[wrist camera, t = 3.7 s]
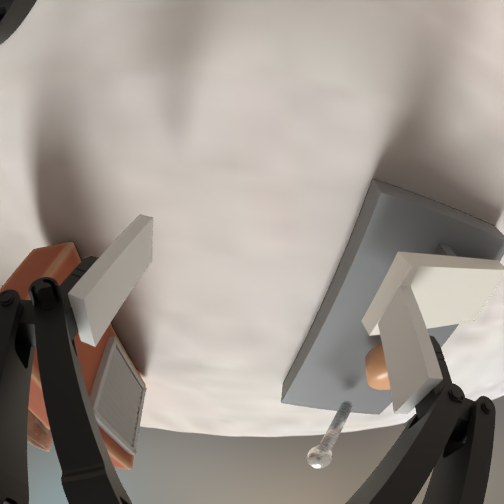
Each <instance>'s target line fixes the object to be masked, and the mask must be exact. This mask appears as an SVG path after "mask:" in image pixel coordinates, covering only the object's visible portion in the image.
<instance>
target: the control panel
mask: <svg viewBox="0 0 504 504" xmlns="http://www.w3.org/2000/svg"><path fill="white" fill-rule="evenodd" d="M80 263H81V260H80V257H79V255H78V252H77V250H76V247H75V245H74V243H73V242H67V243H62V244H57V245H52V246H47V247H42V248H37V249H33V250H32V252H31V253H30V254H29V255H28V256H27V257H26V258H25V260H24V261H23V262H22V263H21V264H20V266H19V267H18V268H17V269H16V270H15V272H14V273H13V274H12V275H11V276H10V278H9V279H8V280H7V281H6V283H5V284H4V285H3V287H2V288H1V289H0V293H1V292H2V291H5V290H9V289H12V290H16V291H17V292H18V293H19V295H20V297H21V299H23V300H31V298H30V295H29V292H28V290H29V286H30V285H31V284H32V282H34V281H35V280H37V279H39V278H42V277H50V278H54V279H55V280H56V281H57V283H58V285H59V286H60V285H61V283H62V282H63V281H64V280H65V279H66V278H67V277H68V276H69V274H71V272H72V271H73V270H74V269H76V267H77V266H78V265H79V264H80ZM74 341H75V344H76V349H77V353H78V358H79V362H80V366H81V370H82V374H83V378H84V381H85V385H86V389H87V392H88V396H89V399H90V402H91V406H92V409H93V412H94V415H95V418H96V421H97V424H98V427H99V430H100V433H101V435H102V438H103V441H104V444H105V446H106V449H107V451H108V454H109V456H110V459H111V461H112V464H113V466H114V468H122V469H132V466H133V458H134V455H135V454H136V447H137V440H138V433H139V427H140V421H141V415H142V409H143V403H144V397H145V392H146V387H145V383H144V381H143V380H142V378H141V376H140V375H139V373H138V371H137V370H136V368H135V366H134V365H133V363H132V361H131V360H130V358H129V356H128V355H127V353H126V351H125V349H124V347H123V346H122V344H121V342H120V340H119V338H118V337H117V335H116V333H115V331H114V329H113V327H112V325H111V323H110V324H109V326H108V328H107V329H106V331H105V332H104V334H103V336H102V337H101V339H100V340H99V342H98V344H97V345H96V347H94V346H92V345H90V344H87V343H85V342H82V341H81V340H80V336H79V333H77V335H76V336H75V338H74ZM28 409H29V410H30V411H31V412H32V413H33V414H34V415H35V416H36V417H37V418H38V419H39V420H40V421H41V422H42V423H43V424H45V425H46V426H47V427H48V428H49V429H50V426H49V421H48V417H47V412H46V408H45V403H44V397H43V392H42V386H41V380H40V373H39V366H38V358H37V349H36V347H35V352H34V359H33V366H32V374H31V383H30V393H29V405H28Z"/></svg>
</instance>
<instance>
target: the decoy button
mask: <svg viewBox="0 0 504 504" xmlns="http://www.w3.org/2000/svg"><path fill="white" fill-rule="evenodd" d="M365 368H366V376H367V383H368V385H369V386H370V387H372V388H374V389H378V390H389V389H390V383H389V377H388V372H387V366H386V361H385V356H384V351H383V346H382V343H381V344H379V345H377V346H375V347H373V348H372V349H371V350H370V351H369V352H368V353H367V355H366V357H365Z"/></svg>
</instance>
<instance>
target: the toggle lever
mask: <svg viewBox="0 0 504 504" xmlns="http://www.w3.org/2000/svg"><path fill="white" fill-rule="evenodd" d="M351 409H352V403H351V402H350V401H344V402H343V403H342V404H341V405H340V407H339V409H338V411H337V413H336V415H335V417H334V419H333V421H332V423H331V425H330V426H329V428H328V430H327V432H326V434H325V436H324V437H323V439H322V441H321V443H320V444H319V446H316V447H313V448H312V449H311V450H310V451H309V453H308V455H307V461H308V463H309V464H310V466H312V467H314V468H318V469H319V468H324V467H326V466H327V465H329V464H330V462H331V461H332V452H331V449H332V447H333V446H334V444H335V442H336V440H337V438H338V436H339V434H340V432H341V430H342V428H343V426H344V424H345V422H346V420H347V418H348V416H349V414H350V412H351Z"/></svg>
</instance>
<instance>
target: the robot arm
mask: <svg viewBox="0 0 504 504" xmlns="http://www.w3.org/2000/svg"><path fill="white" fill-rule="evenodd" d="M35 1H36V0H0V44H2V43H3V42H4V41H5V40H6V39H8V38H9V37H10V36H11V35H12V33H13V32H14V31H15V30H16V29H17V28H18V26H19V25H20V24H21V23H22V21H23V20H24V18H25V17H26V16H27V14H28V13H29V11H30V9H31V8H32V6H33V5H34V3H35ZM152 236H153V217H149V216H144V215H139V216H138V217H137V218H136V219H135V220H134V221H133V222H132V223H131V224H130V225H129V226H128V227H127V228H126V229H125V230H124V231H123V232H122V234H121V235H120V236H119V237H118V238H117V239H116V240H115V241H114V242H113V243H112V244H111V245H110V246H109V247H108V248H107V249H106V251H105V252H104V253H103V254H102V255H101V256H100V257H99V258H96V257H93V256H90V257H88V258H86V259H85V260H83V261H81V263H80V264H79V265H78V266H77V267H76V269H74V270H73V271H72V272H71V274H69V276H68V277H67V278H66V279H65V280H64V281H63V282H62V283H61V285H60V286H59V285H58V283H57V281H56V280H55V279H54V278H50V277H42V278H39V279H37V280H35V281H34V282H32V284H31V285H30V286H29V290H28V292H29V295H30V298H31V300H23V299H21V297H20V295H19V293H18V292H17V291H16V290H12V289H9V290H5V291H2V292H1V293H0V504H29V487H28V470H27V423H28V405H29V393H30V383H31V374H32V366H33V359H34V352H35V347H36V349H37V358H38V366H39V373H40V380H41V386H42V392H43V397H44V403H45V408H46V412H47V417H48V421H49V426H50V430H51V434H52V438H53V441H54V445H55V449H56V452H57V456H58V459H59V462H60V465H61V469H62V477H61V481H62V485H63V489H64V492H65V495H66V497H67V500H68V502H69V504H132V502H131V500H130V499H129V497H128V495H127V493H126V491H125V489H124V488H123V486H122V484H121V482H120V480H119V478H118V475H117V473H116V471H115V468H114V466H113V464H112V461H111V459H110V456H109V454H108V451H107V449H106V446H105V444H104V441H103V438H102V435H101V433H100V430H99V427H98V424H97V421H96V418H95V415H94V412H93V409H92V406H91V402H90V399H89V396H88V392H87V389H86V385H85V381H84V378H83V374H82V370H81V366H80V362H79V358H78V353H77V349H76V344H75V341H74V338H75V336H76V335H77V333H79V336H80V340H81V341H82V342H85V343H87V344H90V345H92V346H94V347H96V345H97V344H98V342H99V340H100V339H101V337H102V336H103V334H104V332H105V331H106V329H107V328H108V326H109V324H110V323H111V321H112V320H113V318H114V317H115V315H116V313H117V312H118V310H119V309H120V307H121V306H122V304H123V303H124V301H125V300H126V298H127V297H128V295H129V294H130V292H131V291H132V289H133V288H134V286H135V285H136V283H137V282H138V280H139V279H140V277H141V276H142V274H143V273H144V272H145V270H146V269H147V267H148V266H149V264H150V263H151V261H152ZM378 327H379V331H380V336H381V341H382V346H383V351H384V356H385V361H386V366H387V372H388V377H389V383H390V389H391V396H392V402H393V409H394V413H403V414H408V413H409V412H410V411H411V410H412V409H413V408H414V407H415V408H416V414H415V415H414V416H413V417H412V418H411V419H410V420H408V421H407V422H406V423H405V424H404V426H406V425H407V424H408V425H407V426H406V428H405V429H404V431H403V432H402V434H401V435H400V436H399V438H398V439H397V441H396V442H395V444H394V445H393V446H392V448H391V449H390V450H389V452H388V453H387V455H386V456H385V457H384V458H383V460H382V461H381V462H380V464H379V465H378V466H377V467H376V469H375V470H374V471H373V472H372V474H371V475H370V476H369V477H368V479H367V480H366V481H365V482H364V483H363V485H362V486H361V487H360V488H359V489H358V490H357V491H356V493H355V494H354V495H353V496H352V497H351V498H350V499H349V500H348V502H347V503H346V504H412V502H413V501H414V499H415V498H416V496H417V494H418V493H419V491H420V490H421V488H422V487H423V485H424V483H425V482H426V480H427V478H428V477H429V475H430V473H431V472H432V470H433V473H432V476H431V479H430V482H429V485H428V488H427V491H426V494H425V498H424V500H423V503H422V504H483V502H484V497H485V493H486V488H487V482H488V477H489V471H490V465H491V458H492V449H493V440H494V428H495V406H494V404H493V402H492V401H491V400H490V399H489V398H488V397H485V396H481V397H479V398H478V399H477V400H476V401H472V400H470V399H467V398H465V395H464V393H463V391H462V389H461V388H460V387H459V386H457V385H456V384H452V381H451V378H450V375H449V371H448V368H447V365H446V362H445V361H444V356H443V354H442V350H441V347H440V344H439V343H438V342H437V340H436V339H435V337H434V336H429V333H428V331H427V328H426V325H425V322H424V320H423V317H422V314H421V312H420V309H419V306H418V304H417V301H416V299H415V296H414V294H413V291H412V289H411V286H400V287H399V288H398V290H397V292H396V294H395V295H394V297H393V299H392V301H391V302H390V304H389V306H388V307H387V309H386V311H385V312H384V314H383V316H382V317H381V319H380V321H379V322H378ZM433 468H434V469H433Z"/></svg>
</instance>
